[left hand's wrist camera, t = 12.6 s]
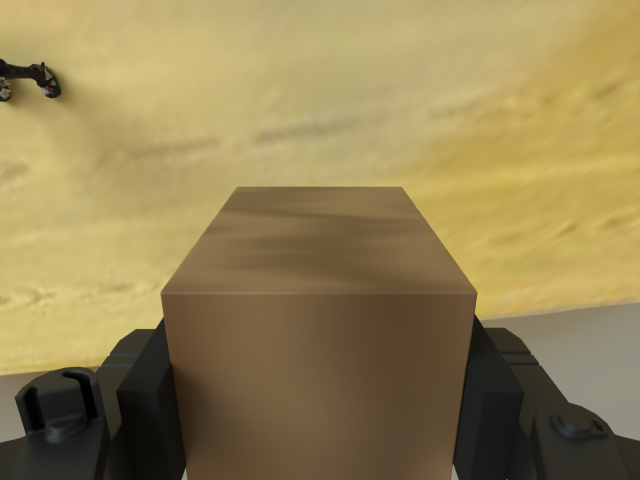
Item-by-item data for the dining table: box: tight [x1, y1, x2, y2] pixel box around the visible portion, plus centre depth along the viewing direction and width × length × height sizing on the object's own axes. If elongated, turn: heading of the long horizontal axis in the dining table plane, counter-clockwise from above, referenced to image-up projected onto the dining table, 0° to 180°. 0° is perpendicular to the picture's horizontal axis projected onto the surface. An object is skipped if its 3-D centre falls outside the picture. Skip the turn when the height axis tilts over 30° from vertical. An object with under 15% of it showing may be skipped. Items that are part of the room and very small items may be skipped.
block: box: [161, 187, 477, 480], centre depth 13 cm, size 6×6×8 cm
